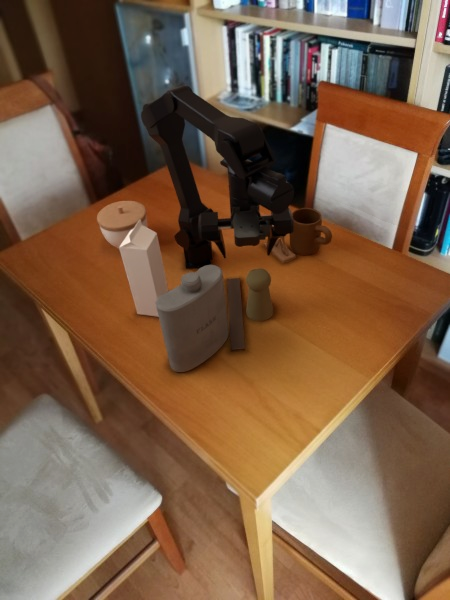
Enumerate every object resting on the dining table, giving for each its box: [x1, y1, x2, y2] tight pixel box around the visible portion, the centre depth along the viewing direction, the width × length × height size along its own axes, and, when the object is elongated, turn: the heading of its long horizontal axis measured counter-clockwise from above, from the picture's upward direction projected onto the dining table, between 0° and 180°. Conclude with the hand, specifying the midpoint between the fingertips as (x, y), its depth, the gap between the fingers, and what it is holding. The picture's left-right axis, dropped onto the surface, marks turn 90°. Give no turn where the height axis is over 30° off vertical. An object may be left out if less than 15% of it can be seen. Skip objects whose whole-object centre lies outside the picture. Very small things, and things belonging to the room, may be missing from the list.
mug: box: [289, 207, 333, 256], centre depth 116 cm, size 12×8×9 cm, turn 39°
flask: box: [155, 264, 230, 373], centre depth 91 cm, size 15×6×20 cm, turn 136°
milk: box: [118, 219, 170, 318], centre depth 101 cm, size 6×6×22 cm
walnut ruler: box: [226, 277, 246, 352], centre depth 105 cm, size 3×22×1 cm, turn 2°
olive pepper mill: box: [245, 267, 274, 322], centre depth 102 cm, size 6×6×11 cm
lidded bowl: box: [96, 200, 149, 250], centre depth 124 cm, size 13×13×11 cm
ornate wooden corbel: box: [263, 234, 297, 264], centre depth 116 cm, size 9×4×12 cm, turn 30°
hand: (246, 255), depth 101 cm, fingers open, 9 cm apart
